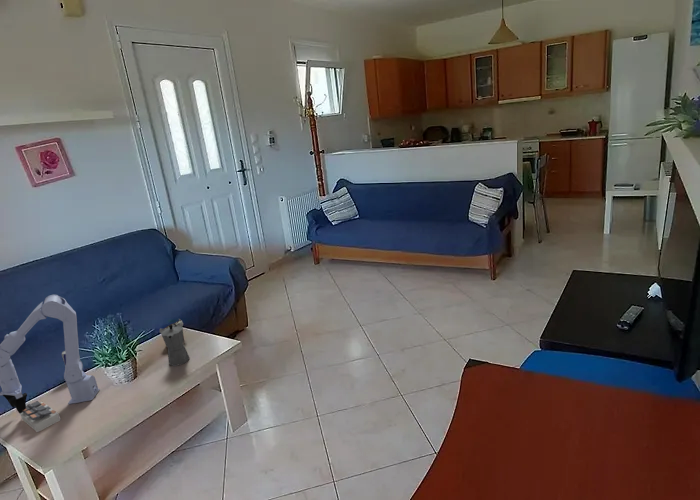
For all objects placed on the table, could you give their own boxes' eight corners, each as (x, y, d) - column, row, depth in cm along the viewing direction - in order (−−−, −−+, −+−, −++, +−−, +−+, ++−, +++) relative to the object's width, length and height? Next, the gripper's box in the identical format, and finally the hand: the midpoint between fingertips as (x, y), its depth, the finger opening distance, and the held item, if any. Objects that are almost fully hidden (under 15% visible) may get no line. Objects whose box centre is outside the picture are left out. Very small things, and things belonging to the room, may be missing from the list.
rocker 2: (42, 408, 175) (42, 404, 175) (46, 411, 173) (46, 407, 173) (24, 414, 171) (24, 410, 170) (28, 417, 168) (27, 413, 168)
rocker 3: (47, 412, 172) (47, 408, 172) (51, 414, 170) (51, 410, 170) (29, 418, 168) (29, 414, 167) (33, 421, 165) (32, 417, 165)
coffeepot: (188, 365, 201) (179, 328, 196) (166, 370, 199) (156, 333, 194) (191, 349, 215) (183, 315, 210) (171, 354, 214) (162, 319, 209)
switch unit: (44, 407, 181) (42, 401, 180) (60, 419, 172) (58, 412, 171) (22, 419, 175) (19, 412, 174) (37, 432, 166) (34, 425, 165)
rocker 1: (38, 403, 178) (37, 399, 178) (41, 406, 176) (40, 402, 176) (20, 411, 174) (19, 408, 173) (24, 414, 172) (22, 410, 171)
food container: (171, 349, 218) (166, 330, 216) (163, 347, 222) (158, 329, 219) (192, 338, 228) (187, 320, 225) (184, 336, 231) (179, 318, 229)
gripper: (-11, 378, 173) (0, 409, 177) (1, 388, 164) (13, 420, 168) (10, 369, 178) (21, 399, 182) (24, 378, 170) (34, 410, 173)
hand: (19, 408), depth 175 cm, fingers open, 7 cm apart
